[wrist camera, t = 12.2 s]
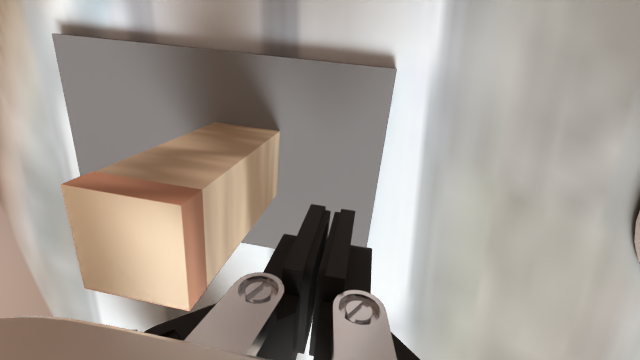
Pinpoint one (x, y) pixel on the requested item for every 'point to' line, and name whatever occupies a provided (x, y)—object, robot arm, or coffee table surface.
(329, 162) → the mat
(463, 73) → the coffee table surface
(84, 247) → the maple block
